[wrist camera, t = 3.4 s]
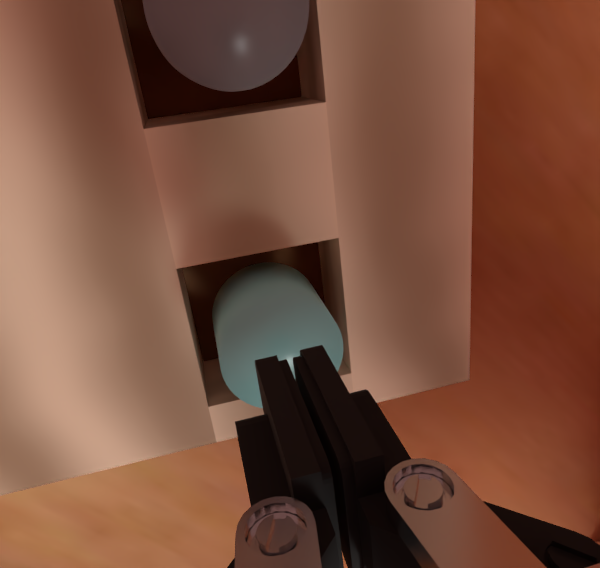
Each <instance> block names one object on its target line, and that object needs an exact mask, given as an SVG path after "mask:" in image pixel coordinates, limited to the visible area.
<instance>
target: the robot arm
mask: <svg viewBox="0 0 600 568" xmlns="http://www.w3.org/2000/svg"><path fill="white" fill-rule="evenodd" d="M293 365H294V372H295V378H294V376H293V373H292V371H291V368H290V366H289V364H288V361H287V359H285V360H280V361H279V360H278V357H277V355H276V356H271V357H267V358H262V359H258V360H255V368H256V373H257V379H258V384H259V390H260V395H261V401H262V406H263V412H264V415H260V416H256V417H252V418H247V419H243V420H239V421H235V425H236V431H237V436H238V441H239V446H240V451H241V456H242V462H243V467H244V472H245V477H246V482H247V487H248V492H249V498H250V503H251V507H250V508H249V509H248V510H247V511H246V512H245V513H244V514H243V516H242V517H241V519H240V521H239V523H238V526H237V530H236V539H235V558H234V559H233V561H232V562H231V563H230V565H229V566H228V567H227V568H344V566H343V558H342V553H343V555H344V558H345V561H346V564H347V566H348V568H600V541H599V542H595V541H593V540H592V539H590V538H588V537H586V536H584V535H582V534H579V533H577V532H574V531H571V530H568V529H565V528H562V527H559V526H556V525H553V524H550V523H547V522H544V521H541V520H538V519H535V518H532V517H529V516H526V515H523V514H520V513H517V512H514V511H511V510H508V509H505V508H502V507H499V506H496V505H493V504H490V503H487V502H484V501H482V500H481V499H480V498H479V497H478V496H477V495H476V494H475V493H474V492H473V491H472V489H471V488H470V487H469V486H468V485H467V484H466V483H465V482H464V481H463V480H462V479H461V478H460V477H459V476H458V475H457V474H456V473H455V472H454V471H453V470H452V469H450V468H449V467H448V466H446V465H444V464H442V463H440V462H438V461H435V460H430V459H425V458H422V459H411V458H410V456H409V455H408V453H407V451H406V450H405V448H404V446H403V445H402V443H401V442H400V440H399V438H398V437H397V435H396V434H395V432H394V430H393V429H392V427H391V426H390V424H389V422H388V421H387V419H386V418H385V416H384V414H383V413H382V411H381V410H380V408H379V406H378V405H377V403H376V401H375V400H374V398H373V397H372V395H371V394H370V392H369V391H368V390H366V389H365V390H361V391H357V392H353V393H349V391H348V390H347V388H346V386H345V384H344V382H343V381H342V379H341V377H340V375H339V374H338V372H337V370H336V368H335V366H334V365H333V363H332V361H331V359H330V357H329V356H328V354H327V352H326V350H325V348H324V347H323V345H319V346H315V347H311V348H306V349H302V350H300V356H298V357H294V358H293ZM295 379H296V381H295Z"/></svg>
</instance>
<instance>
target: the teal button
mask: <svg viewBox="0 0 600 568" xmlns="http://www.w3.org/2000/svg"><path fill="white" fill-rule="evenodd" d="M212 319H213V326H214V332H215V338H216V344H217V350H218V356H219V362H220V368H221V373H222V376H223V379H224V381H225V383H226V385H227V386H228V388H229V389H230V390H231V391H232V392H233V394H234V395H235V396H237V397H238V398H239V399H240V400H242V401H244V402H246V403H247V404H250V405H252V406H255V407H258V408H263V406H262V401H261V395H260V390H259V384H258V379H257V373H256V368H255V360H258V359H262V358H267V357H271V356H276V355H277V357H278V360H279V361H280V360H285V359H287V361H288V364H289V366H290V368H291V371H292V373H293V376H294V378H295V372H294V365H293V358H294V357H298V356H300V350H302V349H306V348H311V347H315V346H319V345H323V347H324V348H325V350H326V352H327V354H328V356H329V357H330V359H331V361H332V363H333V365H334V366H335V368H336V370H337V372H338V370H339V367H340V365H341V361H342V358H343V339H342V335H341V332H340V329H339V327H338V325H337V323H336V322H335V320H334V319H333V317H332V315H331V314H330V312H329V311H328V309H327V308H326V306H325V305H324V303H323V302H322V300H321V299H320V297H319V295H318V294H317V292H316V291H315V289H314V288H313V286H312V285H311V283H310V282H309V280H308V279H307V278H306V277H305V276H304V275H303V274H302V273H300V272H299V271H298V270H296V269H294V268H293V267H290V266H288V265H285V264H281V263H274V262H264V263H257V264H253V265H250V266H247V267H245V268H243V269H241V270H239V271H237V272H236V273H235V274H233V275H232V276H231V277H230V278H228V279H227V280H226V282H225V283H224V284H223V285H222V286H221V288H220V290H219V291H218V293H217V295H216V297H215V300H214V304H213V310H212ZM295 381H296V379H295Z"/></svg>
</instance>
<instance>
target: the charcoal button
mask: <svg viewBox="0 0 600 568" xmlns="http://www.w3.org/2000/svg"><path fill="white" fill-rule="evenodd" d="M142 1H143V7H144V13H145V17H146V21H147V24H148V27H149V29H150V32H151V34H152V37H153V39H154V40H155V42H156V44H157V46H158V48H159V49H160V51H161V52H162V54H163V55H164V57H165V58H166V59H167V61H168V62H169V63H170V64H171V65H172V66H173V67H174V68H175V69H176V70H177V71H179V72H180V73H181V74H183V75H184V76H186V77H187V78H189V79H190V80H192V81H194V82H196V83H198V84H200V85H202V86H205V87H208V88H211V89H215V90H220V91H229V92H235V91H244V90H249V89H253V88H256V87H259V86H261V85H263V84H265V83H267V82H269V81H271V80H272V79H273V78H275V77H276V76H278V75H279V74H280V73H281V72H282V71H283V70H284V69H285V68H286V67H287V66H288V65H289V63H290V62H291V61H292V60H293V58H294V57H295V55H296V53H297V52H298V50H299V48H300V46H301V43H302V41H303V38H304V35H305V32H306V29H307V23H308V18H309V0H142Z"/></svg>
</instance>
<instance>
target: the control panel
mask: <svg viewBox="0 0 600 568" xmlns="http://www.w3.org/2000/svg"><path fill="white" fill-rule="evenodd" d="M297 59H298V68H299V77H300V86H301V95H302V97H297V98H290V99H283V100H276V101H269V102H262V103H255V104H248V105H242V106H235V107H228V108H221V109H214V110H207V111H200V112H193V113H186V114H179V115H173V116H166V117H159V118H152V119H148V117H147V113H146V108H145V104H144V99H143V95H142V91H141V86H140V82H139V78H138V73H137V69H136V64H135V60H134V56H133V51H132V47H131V42H130V38H129V34H128V29H127V25H126V21H125V16H124V12H123V7H122V3H121V0H0V496H1V495H5V494H9V493H13V492H17V491H21V490H25V489H29V488H33V487H37V486H41V485H45V484H50V483H54V482H58V481H62V480H66V479H70V478H74V477H78V476H82V475H86V474H90V473H94V472H98V471H102V470H106V469H110V468H114V467H119V466H123V465H127V464H131V463H135V462H139V461H143V460H147V459H151V458H155V457H159V456H163V455H167V454H171V453H175V452H179V451H183V450H188V449H192V448H196V447H200V446H204V445H208V444H212V443H216V442H220V441H224V440H228V439H232V438H236V437H238V436H237V431H236V425H235V421H239V420H243V419H247V418H252V417H256V416H260V415H264V412H263V408H258V407H255V406H252V405H250V404H247V403H246V402H244V401H242V400H240V399H239V398H238V397H237V396H235V395H234V394H233V392H232V391H231V390H230V389H229V388H228V386H227V385H226V383H225V381H224V379H223V376H222V373H221V368H220V362H219V358H216V359H211V360H207V361H203V358H202V354H201V349H200V345H199V340H198V336H197V332H196V327H195V323H194V318H193V314H192V310H191V305H190V301H189V297H188V292H187V288H186V283H185V279H184V275H183V270H182V268H184V267H189V266H194V265H199V264H205V263H210V262H215V261H220V260H225V259H231V258H236V257H241V256H246V255H252V254H257V253H262V252H267V251H273V250H278V249H283V248H288V247H293V246H299V245H304V244H309V243H314V242H318V248H319V257H320V266H321V275H322V284H323V293H324V302H325V306H326V308H327V309H328V311H329V312H330V314H331V315H332V317H333V319H334V320H335V322H336V323H337V325H338V327H339V329H340V332H341V335H342V339H343V358H342V361H341V365H340V367H339V370H338V374H339V375H340V377H341V379H342V381H343V382H344V384H345V386H346V388H347V390H348V391H349V393H353V392H357V391H361V390H365V389H366V390H368V391H369V392H370V394H371V395H372V397H373V398H374V400H375V401H376V403H378V402H382V401H386V400H390V399H395V398H399V397H403V396H407V395H411V394H415V393H419V392H423V391H427V390H431V389H435V388H439V387H443V386H447V385H451V384H455V383H459V382H464V381H468V380H470V316H471V252H472V189H473V125H474V61H475V0H309V18H308V23H307V29H306V32H305V35H304V38H303V41H302V43H301V46H300V48H299V50H298V52H297Z"/></svg>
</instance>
